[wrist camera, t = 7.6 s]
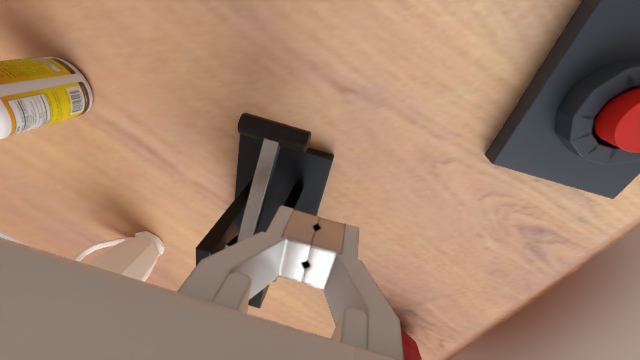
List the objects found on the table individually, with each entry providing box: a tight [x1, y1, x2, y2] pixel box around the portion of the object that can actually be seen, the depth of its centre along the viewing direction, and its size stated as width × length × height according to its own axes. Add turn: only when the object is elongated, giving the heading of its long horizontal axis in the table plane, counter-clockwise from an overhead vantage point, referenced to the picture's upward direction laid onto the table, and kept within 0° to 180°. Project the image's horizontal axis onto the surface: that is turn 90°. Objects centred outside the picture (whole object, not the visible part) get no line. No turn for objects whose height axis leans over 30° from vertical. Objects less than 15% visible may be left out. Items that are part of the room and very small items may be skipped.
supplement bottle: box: [0, 57, 93, 139], centre depth 22 cm, size 6×6×10 cm
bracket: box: [196, 134, 334, 308], centre depth 24 cm, size 12×9×12 cm
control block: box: [485, 0, 640, 199], centre depth 18 cm, size 12×10×4 cm
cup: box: [73, 231, 165, 282], centre depth 34 cm, size 7×10×8 cm
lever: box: [224, 113, 311, 249], centre depth 20 cm, size 12×5×2 cm, turn 166°
